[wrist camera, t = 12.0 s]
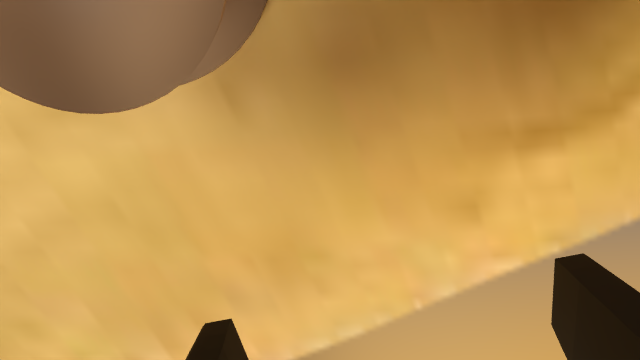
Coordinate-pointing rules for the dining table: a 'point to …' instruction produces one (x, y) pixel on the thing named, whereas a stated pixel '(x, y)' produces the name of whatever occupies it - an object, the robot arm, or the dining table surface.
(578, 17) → the dining table surface
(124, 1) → the spool post
